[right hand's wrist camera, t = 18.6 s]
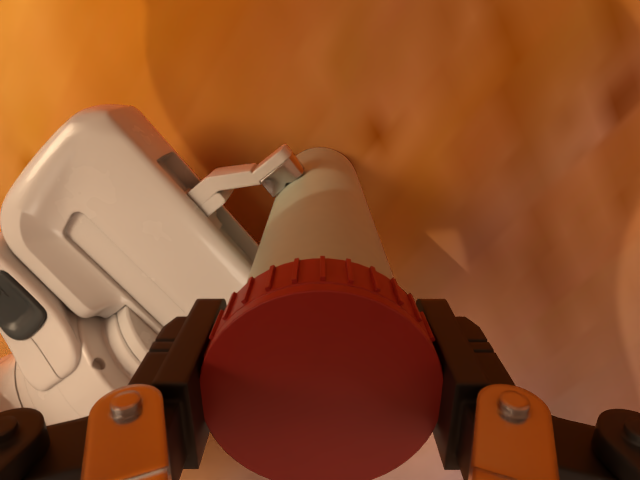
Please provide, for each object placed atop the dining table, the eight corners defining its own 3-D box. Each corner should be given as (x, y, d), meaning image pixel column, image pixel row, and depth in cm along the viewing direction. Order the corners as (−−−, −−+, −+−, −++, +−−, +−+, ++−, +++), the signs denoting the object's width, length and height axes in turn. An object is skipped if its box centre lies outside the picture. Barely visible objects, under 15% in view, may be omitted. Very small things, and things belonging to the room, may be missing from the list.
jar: (342, 135, 26) (385, 255, 9) (367, 205, 27) (444, 418, 11) (270, 163, 26) (185, 325, 10) (299, 231, 28) (269, 470, 11)
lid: (168, 363, 11) (144, 410, 10) (308, 206, 10) (306, 232, 8) (330, 468, 12) (332, 524, 11) (476, 345, 11) (502, 389, 9)
